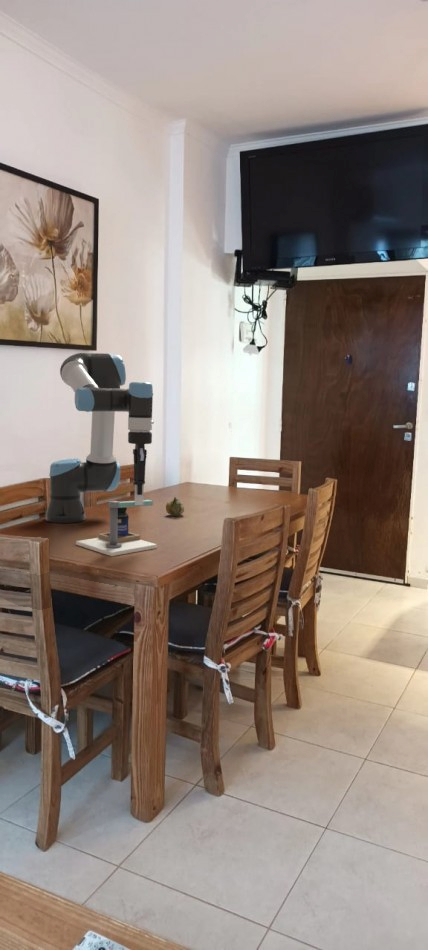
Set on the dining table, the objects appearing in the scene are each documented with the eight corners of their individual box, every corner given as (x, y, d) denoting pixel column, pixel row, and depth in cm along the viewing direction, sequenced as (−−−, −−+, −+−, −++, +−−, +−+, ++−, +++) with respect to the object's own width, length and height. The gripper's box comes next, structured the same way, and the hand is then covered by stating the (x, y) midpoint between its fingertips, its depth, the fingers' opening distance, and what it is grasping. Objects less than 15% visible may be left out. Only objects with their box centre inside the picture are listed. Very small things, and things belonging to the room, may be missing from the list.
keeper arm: (110, 508, 222) (110, 503, 222) (106, 506, 225) (106, 501, 225) (153, 505, 229) (153, 500, 229) (149, 503, 233) (149, 498, 232)
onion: (188, 515, 290) (188, 496, 289) (177, 518, 283) (177, 498, 282) (173, 513, 294) (173, 494, 293) (162, 515, 287) (162, 496, 286)
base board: (76, 544, 233) (76, 503, 231) (120, 537, 246) (120, 498, 244) (111, 556, 219) (111, 512, 217) (156, 547, 231) (157, 506, 229)
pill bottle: (112, 541, 234) (112, 508, 233) (108, 537, 240) (108, 505, 238) (130, 539, 236) (130, 507, 235) (125, 536, 242) (125, 504, 241)
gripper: (154, 432, 219) (153, 507, 221) (149, 430, 231) (147, 501, 234) (130, 431, 217) (129, 507, 220) (126, 430, 229) (125, 501, 232)
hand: (138, 504), depth 227 cm, fingers closed
